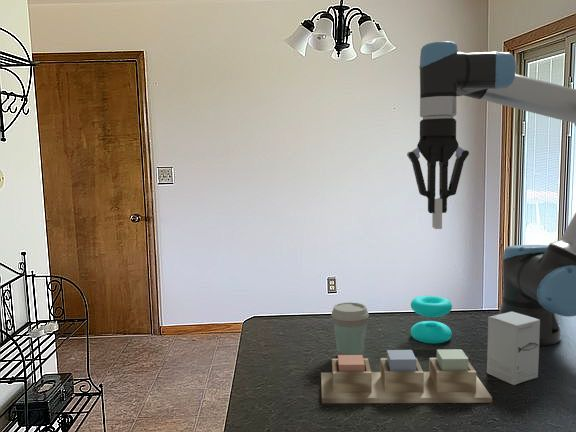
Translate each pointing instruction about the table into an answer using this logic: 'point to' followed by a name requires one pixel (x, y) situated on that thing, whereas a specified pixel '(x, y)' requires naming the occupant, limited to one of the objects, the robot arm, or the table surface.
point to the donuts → (431, 329)
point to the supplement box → (513, 347)
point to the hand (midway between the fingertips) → (437, 227)
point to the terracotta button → (350, 363)
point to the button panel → (403, 385)
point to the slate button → (401, 360)
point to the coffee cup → (350, 327)
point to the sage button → (452, 360)
